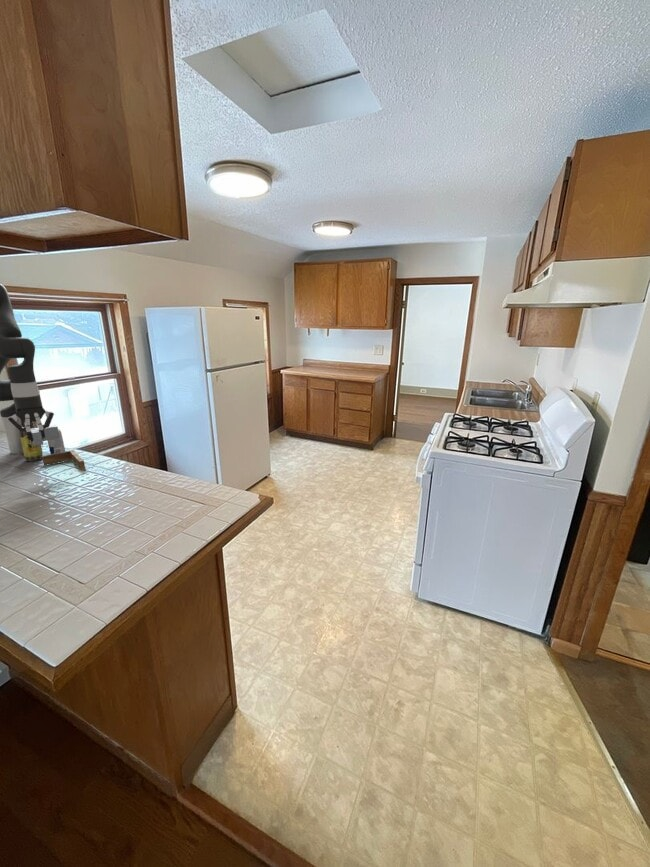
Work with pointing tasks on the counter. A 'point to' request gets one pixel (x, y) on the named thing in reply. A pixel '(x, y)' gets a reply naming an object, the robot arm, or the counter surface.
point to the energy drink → (56, 444)
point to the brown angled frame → (64, 458)
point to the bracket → (49, 432)
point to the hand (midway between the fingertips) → (37, 439)
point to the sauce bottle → (30, 445)
